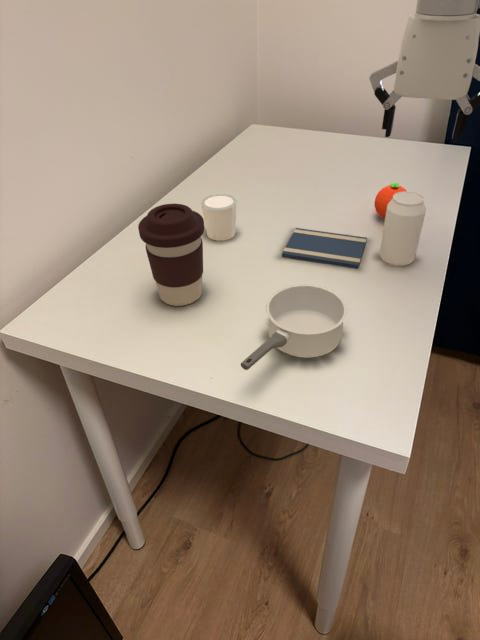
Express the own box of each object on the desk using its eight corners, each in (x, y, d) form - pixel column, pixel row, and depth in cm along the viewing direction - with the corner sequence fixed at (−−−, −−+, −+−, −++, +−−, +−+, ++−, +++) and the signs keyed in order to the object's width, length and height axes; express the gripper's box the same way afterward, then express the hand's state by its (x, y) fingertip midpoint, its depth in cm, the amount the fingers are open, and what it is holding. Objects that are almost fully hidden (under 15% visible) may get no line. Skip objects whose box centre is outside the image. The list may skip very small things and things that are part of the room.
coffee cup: (220, 299, 80) (214, 217, 70) (165, 319, 76) (150, 236, 67) (195, 271, 87) (186, 193, 77) (143, 288, 83) (127, 208, 74)
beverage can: (421, 264, 86) (436, 202, 78) (389, 271, 84) (401, 208, 77) (402, 247, 90) (414, 187, 83) (372, 254, 89) (381, 192, 81)
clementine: (371, 207, 103) (376, 175, 99) (405, 209, 102) (412, 176, 98) (372, 225, 97) (377, 192, 93) (408, 227, 96) (415, 193, 92)
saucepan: (212, 376, 67) (209, 346, 63) (293, 304, 78) (294, 275, 75) (281, 415, 61) (282, 385, 57) (357, 331, 73) (362, 301, 69)
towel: (366, 241, 93) (367, 237, 92) (358, 268, 85) (358, 264, 85) (295, 231, 97) (295, 227, 96) (281, 257, 89) (281, 252, 89)
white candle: (229, 222, 101) (227, 190, 96) (244, 236, 96) (243, 204, 91) (198, 230, 98) (195, 198, 94) (212, 245, 93) (209, 212, 89)
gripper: (518, -1, 63) (481, 133, 74) (382, -1, 68) (366, 124, 79) (523, 8, 58) (482, 150, 68) (375, 7, 63) (359, 140, 73)
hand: (420, 136), depth 74 cm, fingers open, 9 cm apart
